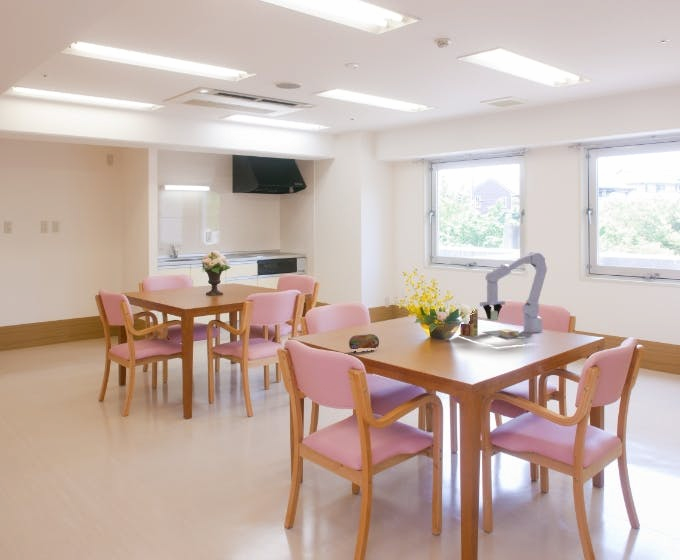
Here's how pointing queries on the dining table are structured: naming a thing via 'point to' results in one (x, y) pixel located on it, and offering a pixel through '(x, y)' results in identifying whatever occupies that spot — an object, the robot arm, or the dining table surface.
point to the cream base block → (509, 333)
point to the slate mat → (497, 334)
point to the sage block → (494, 315)
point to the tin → (364, 341)
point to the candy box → (470, 325)
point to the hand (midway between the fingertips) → (492, 318)
